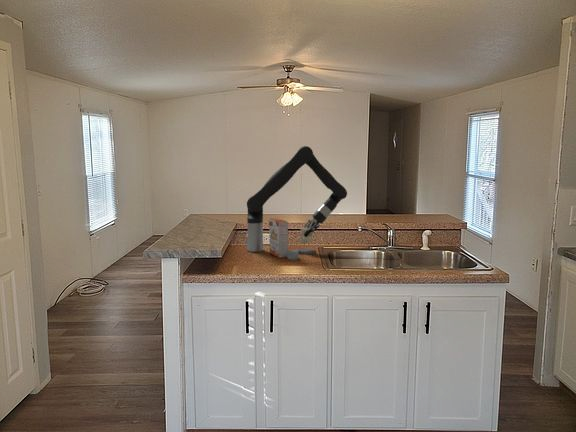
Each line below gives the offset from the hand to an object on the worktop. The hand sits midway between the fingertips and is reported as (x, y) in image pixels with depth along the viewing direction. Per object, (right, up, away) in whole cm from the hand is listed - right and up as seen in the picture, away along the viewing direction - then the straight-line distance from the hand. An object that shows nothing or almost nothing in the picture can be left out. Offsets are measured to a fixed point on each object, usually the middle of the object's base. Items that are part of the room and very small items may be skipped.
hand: (303, 235), depth 286 cm
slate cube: (-6, -13, -13) cm, 19 cm away
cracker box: (-14, -12, -5) cm, 19 cm away
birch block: (+2, -4, +1) cm, 5 cm away
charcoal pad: (+2, -10, +2) cm, 11 cm away
